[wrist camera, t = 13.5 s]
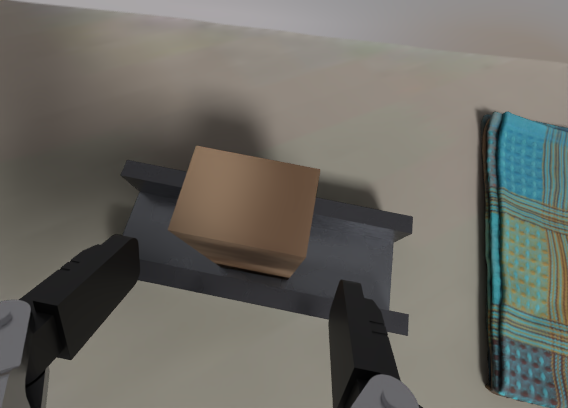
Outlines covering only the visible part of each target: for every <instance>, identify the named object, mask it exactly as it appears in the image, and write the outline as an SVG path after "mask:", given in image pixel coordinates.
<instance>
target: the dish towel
mask: <svg viewBox="0 0 568 408" xmlns="http://www.w3.org/2000/svg"><path fill="white" fill-rule="evenodd" d="M481 136H482V159H483V170H484V186H485V202H486V205H485V206H486V212H485V222H486V230H485V241H486V250H485V257H486V261H487V268H488V277H487V315H486V317H487V335H488V366H489V384H487V385H485V387H486V388H487V389H488V390H489V391H491V392H492V393H494V394H496V395H499V396H503V397H506V398H512V399H515V400H518V401H522V402H528V403H531V404H536V405H540V406H544V407H549V408H568V128H565V127H559V126H555V125H550V124H546V123H542V122H537V121H531V120H528V119H525V118H523V117H520V116H517V115H514V114H512V113H510V112H505V113H504V114H501V113H498V112H493V114H492V115H488V114H487V115H484V116H483V119H482V123H481Z"/></svg>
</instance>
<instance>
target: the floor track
mask: <svg viewBox="0 0 568 408" xmlns="http://www.w3.org/2000/svg"><path fill="white" fill-rule="evenodd" d="M186 174H187V172H185V171H180V170H175V169H170V168H165V167H160V166H155V165H150V164H145V163H140V162H135V161H130V160H127V161H126V164H125V166H124V168H123V171H122V173H121V176H122V177H123V178H124V179H125V180H127V181H128V182H129V183H130V184H131V185H132V186H134V187H135V188H136V189H137V190H138V191H140V192H139V195H138V197H137V200H136V202H135V205H134V207H133V210H132V212H131V215H130V218H129V220H128V223H127V225H126V228H125V230H124V233H123V236H128V237H133V238H136V239H137V240H138V244H139V258H140V275H139V278H138V280H140V281H145V282H150V283H155V284H160V285H165V286H169V287H174V288H179V289H184V290H189V291H194V292H198V293H203V294H208V295H213V296H218V297H222V298H227V299H232V300H237V301H242V302H247V303H251V304H256V305H261V306H266V307H271V308H276V309H280V310H285V311H290V312H295V313H300V314H304V315H309V316H314V317H319V318H324V319H329V314H330V309H331V305H332V302H333V299H334V296H335V293H336V290H337V287H338V284H339V281H340V280H341V279H342V280H347V281H352V282H357V283H360V284H361V286H362V290H363V295H364V298H367V299H372V300H373V301H374V302H375V303H376V305H377V306H378V308H379V309H380V310H381V312H382V316H383V320H384V323H385V325H384V326H385V327H386V330H387V332H391V333H396V334H401V335H406V336H408V317H409V314H404V313H399V312H394V311H389V303H390V288H391V272H392V257H393V243H394V242H396V241H398V240H400V239H402V238H404V237H406V236H408V235H410V234H412V223H413V217H412V216H407V215H402V214H397V213H392V212H387V211H382V210H377V209H372V208H367V207H362V206H357V205H351V204H346V203H341V202H336V201H331V200H326V199H321V198H316V199H315V205H314V211H313V218H312V224H311V230H310V236H309V242H308V248H307V254H306V258H305V259H304V261H303V262H302V263H301V264H300V266H299V267H298V268H297V269H296V271H295V272H294V273H293V274H292V276H291V277H290V278H289V279H288V280H283V279H278V278H273V277H268V276H263V275H258V274H253V273H248V272H243V271H238V270H233V269H228V268H223V267H219V266H218V265H217V264H215V263H214V262H212V261H211V260H209V259H208V258H207V257H205V256H204V255H202V254H201V253H199V252H198V251H197V250H195V249H194V248H192V247H191V246H190V245H188V244H187V243H185V242H184V241H182V240H181V239H180V238H178V237H177V236H175V235H174V234H172V233H171V232H170V231H168V227H169V224H170V221H171V218H172V215H173V212H174V209H175V206H176V203H177V201H178V198H179V195H180V192H181V189H182V186H183V183H184V180H185V177H186Z"/></svg>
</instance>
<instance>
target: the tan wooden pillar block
mask: <svg viewBox="0 0 568 408" xmlns="http://www.w3.org/2000/svg"><path fill="white" fill-rule="evenodd" d="M319 175H320V169H315V168H310V167H305V166H300V165H295V164H289V163H284V162H279V161H274V160H269V159H263V158H258V157H253V156H248V155H243V154H237V153H232V152H227V151H222V150H217V149H211V148H206V147H201V146H196V147H195V150H194V153H193V156H192V159H191V162H190V165H189V168H188V171H187V174H186V177H185V180H184V183H183V186H182V189H181V192H180V195H179V198H178V201H177V203H176V206H175V209H174V212H173V215H172V218H171V221H170V224H169V227H168V231H170V232H171V233H172V234H174V235H175V236H177V237H178V238H180V239H181V240H182V241H184V242H185V243H187V244H188V245H190V246H191V247H192V248H194V249H195V250H197V251H198V252H199V253H201V254H202V255H204V256H205V257H207V258H208V259H209V260H211V261H212V262H214V263H215V264H217V265H218V266H219V267H223V268H228V269H233V270H238V271H243V272H248V273H253V274H258V275H263V276H268V277H273V278H278V279H283V280H288V279H289V278H290V277H291V276H292V274H293V273H294V272H295V271H296V269H297V268H298V267H299V266H300V264H301V263H302V262H303V261H304V259H305V258H306V254H307V248H308V242H309V236H310V230H311V224H312V218H313V211H314V205H315V199H316V193H317V187H318V181H319Z"/></svg>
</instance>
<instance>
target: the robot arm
mask: <svg viewBox="0 0 568 408" xmlns="http://www.w3.org/2000/svg"><path fill="white" fill-rule="evenodd" d="M139 275H140V258H139V244H138V240H137V239H136V238H133V237H128V236H123V235H118V234H115V235H113V236H111V237H110V238H109V239H108V240H107V241H105V242H104V243H103V244H102V245H99V244H97V245H95V246H93V247H90V248H88V249H86V250H83V251H82V252H80V253H79V254H78V255H77V256H75V257H74V258H73V259H71V261H70V262H67V263H66V264H65V265H64V266H62V267H61V269H60V270H57V271H56V272H54V273H53V274H52V275H51V276H49V277H48V278H47V279H45V280H44V281H43V282H41V283H40V284H39V285H38V286H36V287H35V288H34V289H32V290H31V291H30V292H28V293H27V294H26V295H25V296H23V297H22V298H21V299H19V300H6V301H1V302H0V408H46V402H47V392H48V382H49V372H50V371H49V365H50V364H51V362H52V361H53V360H54V359H55V358H56V357H58V358H63V359H68V360H72V359H73V357H74V356H75V355H76V354H77V353H78V351H79V350H80V349H81V348H82V347H83V346H84V344H85V343H86V342H87V341H88V340H89V338H90V337H91V336H92V335H93V334H94V333H95V331H96V330H97V329H98V328H99V327H100V325H101V324H102V323H103V322H104V321H105V320H106V318H107V317H108V316H109V315H110V314H111V312H112V311H113V310H114V309H115V308H116V307H117V305H118V304H119V303H120V302H121V301H122V299H123V298H124V297H125V296H126V295H127V294H128V292H129V291H130V290H131V289H132V288H133V286H134V285H135V284H136V282H137V280H138V278H139ZM384 325H385V323H384V320H383V316H382V312H381V310H380V309H379V308H378V306H377V305H376V303H375V302H374V301H373V300H372V299H367V298H364V295H363V290H362V286H361V284H360V283H357V282H352V281H347V280H342V279H341V280H340V281H339V284H338V287H337V290H336V293H335V296H334V299H333V302H332V305H331V309H330V314H329V342H330V360H331V378H332V397H333V408H423V407H421V406H420V405H419V404H418V403H417V400H416V398H415V397H414V395H413V393H412V392H411V391H410V390H409V388H408V387H407V386H406V385H404V384H403V383H402V382H401V380H400V377H399V374H398V370H397V366H396V363H395V359H394V356H393V352H392V348H391V345H390V341H389V338H388V337H387V335H388V334H387V330H386V327H385V326H384Z"/></svg>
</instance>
